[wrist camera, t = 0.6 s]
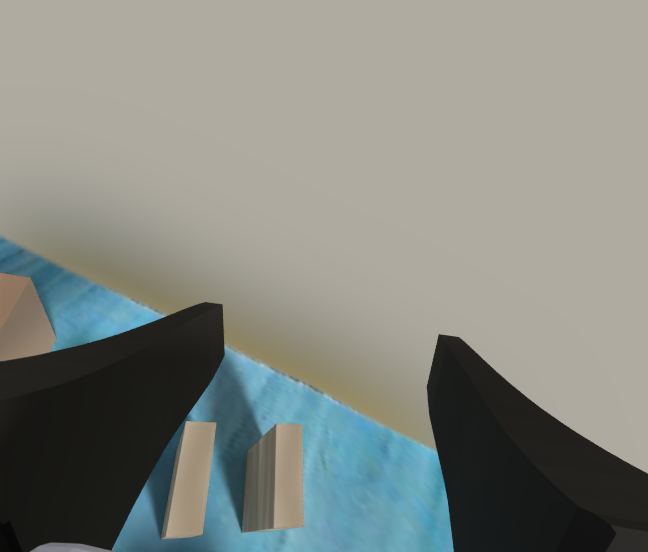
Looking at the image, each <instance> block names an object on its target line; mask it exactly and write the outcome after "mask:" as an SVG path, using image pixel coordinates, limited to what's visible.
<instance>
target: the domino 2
mask: <svg viewBox="0 0 648 552" xmlns="http://www.w3.org/2000/svg"><path fill="white" fill-rule="evenodd" d="M215 430H216V422H193V421H186V423H185V426H184V429H183V432H182V436H181V439H180V442H179V445H178V448H177V451H176V457H175V462H174V468H173V473H172V479H171V484H170V490H169V495H168V501H167V506H166V512H165V517H164V523H163V528H162V534H161V539H177V538H189V537H194V536H199V535H202V534H203V526H204V518H205V510H206V502H207V494H208V486H209V478H210V470H211V462H212V454H213V446H214V438H215ZM161 539H160V540H161Z"/></svg>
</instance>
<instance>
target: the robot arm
mask: <svg viewBox="0 0 648 552" xmlns="http://www.w3.org/2000/svg"><path fill="white" fill-rule="evenodd" d="M223 330H224V329H223V307H222V304H215V303H208V302H205V303H201V304H198V305H194V306H192V307H189V308H186V309H184V310H181V311H179V312H176V313H174V314H171V315H169V316H166V317H164V318H161V319H159V320H156V321H154V322H151V323H148V324H146V325H143V326H140V327H137V328H134V329H132V330H129V331H126V332H123V333H121V334H118V335H114V336H111V337H108V338H105V339H102V340H98V341H94V342H91V343H87V344H84V345H80V346H76V347H72V348H67V349H62V350H58V351H53V352H49V353H44V354H40V355H35V356H29V357H24V358H18V359H12V360H6V361H0V552H114V551H111V550H112V548H113V546H114V544H115V542H116V540H117V538H118V536H119V534H120V532H121V530H122V528H123V526H124V524H125V522H126V520H127V518H128V516H129V514H130V512H131V510H132V508H133V506H134V504H135V502H136V500H137V498H138V496H139V495H140V493H141V491H142V489H143V487H144V485H145V483H146V481H147V480H148V478H149V476H150V474H151V472H152V470H153V469H154V467H155V465H156V463H157V462H158V460H159V458H160V456H161V455H162V453H163V451H164V449H165V447H166V446H167V444H168V443H169V441H170V440H171V438H172V437H173V435H174V434H175V432H176V431H177V429H178V428H179V426H180V425H181V424H182V422H183V421H184V419H185V418H186V417H187V415H188V414H189V412H190V411H191V409H192V408H193V407H194V405H195V404H196V402H197V401H198V400H199V398H200V397H201V395H202V394H203V392H204V391H205V390H206V388H207V387H208V385H209V384H210V382H211V381H212V379H213V377H214V375H215V373H216V372H217V370H218V368H219V366H220V364H221V362H222V359H223V357H224V355H225V352H224V331H223ZM427 393H428V406H429V415H430V420H431V425H432V429H433V434H434V439H435V443H436V448H437V452H438V456H439V461H440V465H441V470H442V474H443V478H444V483H445V488H446V493H447V499H448V506H449V514H450V522H451V530H452V539H453V548H454V552H648V474H647V473H646V472H644V471H642V470H640V469H638V468H636V467H634V466H632V465H631V464H629V463H627V462H625V461H623V460H622V459H620V458H618V457H616V456H615V455H613V454H611V453H609V452H608V451H606V450H604V449H603V448H601V447H599V446H598V445H596V444H594V443H593V442H591V441H589V440H588V439H586V438H584V437H583V436H581V435H580V434H578V433H576V432H575V431H573V430H572V429H570V428H569V427H567V426H566V425H564V424H563V423H561V422H560V421H559V420H557V419H556V418H554V417H553V416H551V415H550V414H548V413H547V412H546V411H544V410H543V409H541V408H540V407H539V406H537V405H536V404H535V403H533V402H532V401H531V400H530V399H528V398H527V397H526V396H525V395H523V394H522V393H521V392H520V391H518V390H517V389H516V388H515V387H514V386H512V385H511V384H510V383H509V382H507V381H506V380H505V379H504V378H503V377H502V376H501V375H500V374H498V373H497V372H496V371H495V370H494V369H493V368H492V367H491V366H490V365H489V364H487V362H485V361H484V360H483V359H482V358H481V357H480V356H479V355H478V354H477V353H476V352H475V351H474V350H473V349H472V348H470V346H468V345H467V344H466V343H465V342H464V341H463V340H462V339H460V338H459V337H454V336H447V335H440V334H439V336H438V340H437V345H436V349H435V353H434V358H433V362H432V367H431V371H430V375H429V380H428V384H427Z"/></svg>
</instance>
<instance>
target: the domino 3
mask: <svg viewBox="0 0 648 552" xmlns="http://www.w3.org/2000/svg"><path fill="white" fill-rule="evenodd" d="M297 527H304V507H303V443H302V425H295V424H276V425H275V426H274V427H272V428H271V429H270V430H269V431H268V432H267V433H266V434H265V435H264V436H263V437H262V438H261V439H260V440H259V441H258V442H256V443H255V444H254V445H253V446H252V447H251V448H250V449H249V450H248V451H247V465H246V479H245V493H244V507H243V521H242V533H247V532H264V531H273V530H281V529H289V528H297Z"/></svg>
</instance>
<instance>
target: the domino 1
mask: <svg viewBox="0 0 648 552" xmlns="http://www.w3.org/2000/svg"><path fill="white" fill-rule="evenodd" d="M56 339H57V338H56V336H55V333H54V331H53V329H52V326H51V324H50V322H49V319H48V317H47V315H46V312H45V310H44V308H43V305H42V303H41V300H40V298H39V296H38V293H37V291H36V289H35V286H34V284H33V282H32V279H31V277H24V276H18V275H11V274H5V273H0V361H6V360H12V359H18V358H24V357H29V356H35V355H40V354H44V353H49V352H51V350H52V348H53V345H54V343H55V341H56Z"/></svg>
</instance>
